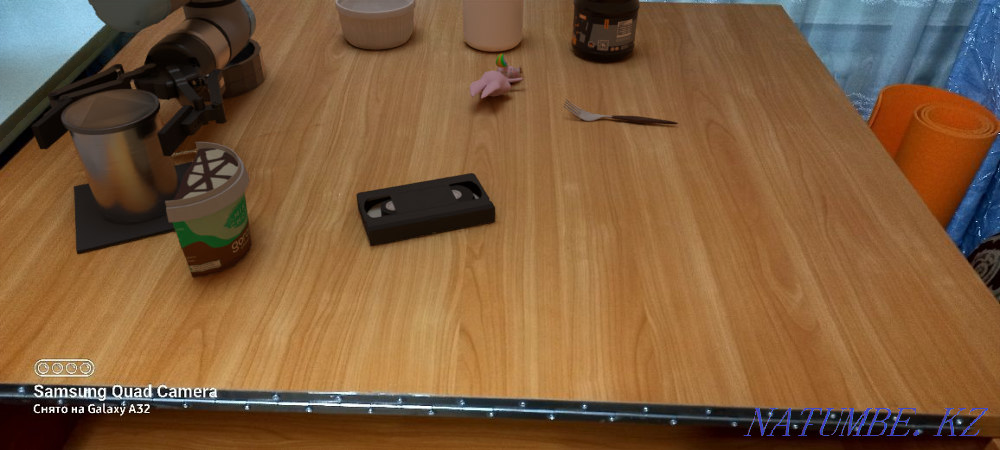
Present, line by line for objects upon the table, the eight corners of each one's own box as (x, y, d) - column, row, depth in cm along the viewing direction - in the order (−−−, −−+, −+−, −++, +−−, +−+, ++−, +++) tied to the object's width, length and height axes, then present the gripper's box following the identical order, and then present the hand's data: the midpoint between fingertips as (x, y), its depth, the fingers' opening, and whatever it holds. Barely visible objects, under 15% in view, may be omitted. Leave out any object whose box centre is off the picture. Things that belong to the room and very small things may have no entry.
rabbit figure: (494, 80, 118) (455, 105, 105) (496, 42, 115) (457, 63, 102) (531, 86, 116) (496, 112, 103) (534, 48, 113) (499, 70, 100)
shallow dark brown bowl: (161, 73, 115) (153, 43, 112) (256, 58, 120) (250, 28, 117) (172, 112, 105) (163, 80, 102) (275, 93, 110) (269, 62, 107)
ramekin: (403, 20, 135) (401, -19, 131) (428, 46, 125) (426, 5, 121) (331, 30, 130) (326, -9, 126) (351, 58, 121) (346, 16, 117)
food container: (251, 284, 75) (231, 202, 69) (188, 287, 74) (163, 204, 68) (271, 214, 85) (255, 137, 79) (216, 216, 84) (196, 139, 78)
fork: (677, 131, 102) (679, 118, 101) (562, 119, 104) (563, 106, 103) (677, 122, 104) (679, 109, 103) (564, 110, 106) (565, 98, 105)
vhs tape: (474, 186, 90) (473, 172, 89) (495, 221, 84) (495, 207, 83) (357, 207, 86) (355, 192, 85) (370, 246, 80) (368, 231, 79)
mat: (74, 188, 89) (73, 186, 88) (197, 163, 94) (196, 160, 93) (77, 254, 78) (76, 251, 78) (214, 221, 84) (213, 218, 83)
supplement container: (580, 35, 129) (585, -34, 122) (640, 44, 126) (648, -27, 119) (562, 58, 121) (567, -15, 114) (625, 68, 118) (634, -7, 111)
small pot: (94, 190, 88) (60, 98, 81) (180, 172, 91) (154, 82, 84) (98, 234, 81) (61, 137, 74) (190, 213, 84) (163, 118, 77)
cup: (480, 28, 132) (480, -29, 126) (531, 38, 128) (533, -20, 123) (453, 47, 125) (451, -12, 119) (506, 58, 121) (507, -2, 115)
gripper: (287, 91, 96) (224, 178, 79) (103, 82, 98) (1, 165, 80) (278, 35, 92) (208, 115, 74) (84, 27, 93) (-27, 103, 76)
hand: (100, 141), depth 77 cm, fingers open, 13 cm apart
